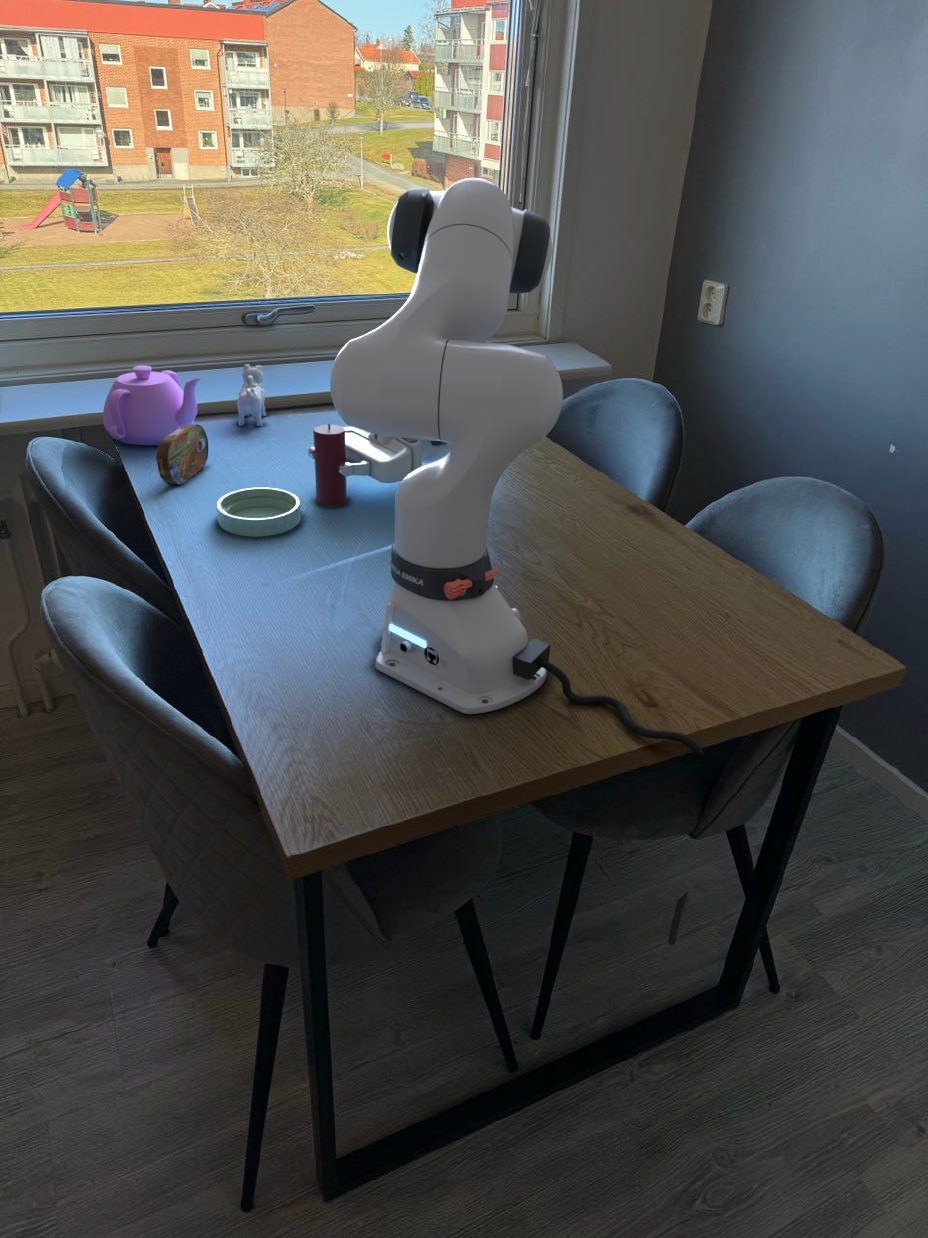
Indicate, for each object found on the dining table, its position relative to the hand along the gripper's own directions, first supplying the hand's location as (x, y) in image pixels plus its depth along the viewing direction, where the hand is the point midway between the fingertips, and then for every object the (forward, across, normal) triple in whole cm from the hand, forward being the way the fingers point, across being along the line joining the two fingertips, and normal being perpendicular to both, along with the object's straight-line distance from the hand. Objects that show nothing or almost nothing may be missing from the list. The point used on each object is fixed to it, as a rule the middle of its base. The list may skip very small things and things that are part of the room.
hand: (325, 462), depth 148 cm
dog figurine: (-12, -47, +8) cm, 49 cm away
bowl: (+13, 0, +7) cm, 15 cm away
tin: (+14, -25, +8) cm, 30 cm away
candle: (-1, 0, +7) cm, 7 cm away
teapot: (+9, -46, +8) cm, 48 cm away
